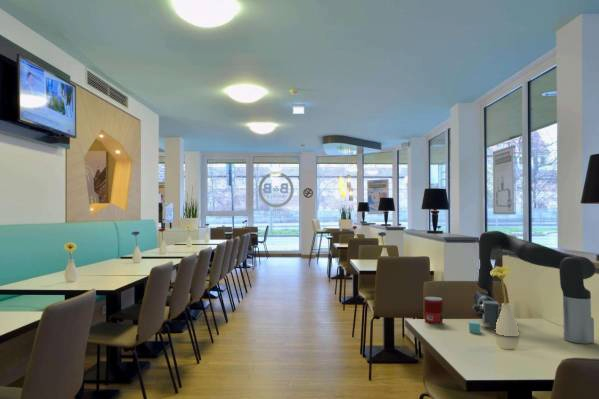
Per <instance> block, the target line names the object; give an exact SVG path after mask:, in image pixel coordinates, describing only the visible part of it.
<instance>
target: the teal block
mask: <svg viewBox="0 0 599 399" xmlns="http://www.w3.org/2000/svg"><path fill="white" fill-rule="evenodd" d="M468 331H469V333H470V334H471V333H472V334H473V333H474V334H481V323H480V321H474V320H469V321H468Z"/></svg>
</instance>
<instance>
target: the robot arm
mask: <svg viewBox="0 0 599 399" xmlns="http://www.w3.org/2000/svg"><path fill="white" fill-rule="evenodd" d="M478 241H479V244H478V246H479V272H478V277H477V278H478V279H477V286H478V287H479V288H480V289H481V290H485V291H483V292H481V290H475V291H476V292H475V296H474V300H475V304H474V303H472V311H474V312H475V313H480V314H482V315H483V314H484V309H483V300H485V301H495V295H494V291H493V290H494V288H493V287H494V280H495V276H494V277H492V276H491V275H490V271H491V270H492V269H494V266H493V265H492V260H491V256H492V252H493V251H495V250H504V251H508V252H511V253H513V254H514V255H515V256H516V257H517V258H518V259H520V260H521V261H523V262H527V263H529V264H532V265H535V266H541V267H546V268H553V269H558V270H559V284H560V289H561V291H562V308H563V309H562V310H563V311H562V313H563V314H562V315H563V339H564V340H565V341H567V342H571V343H575V344H585V345H586V344H592V343H593V344H594V343H595V321H594V320H595V319H594V317H592V301H591V299H592V294H591V291H590V290H589V289H587V288H586V287H585V285H584V283H585V282H584V280H588V279H589V278H591V277H593V276H594V275H595V274H596V270H597V269H596V266H595V264H594V263H593V261H592V260H590V259H589V258H588V257H585V256H582V255H581V256H580V255H576V254H569V253H565V252H563V251H559V250H556V249H555V248H551V247H548V246H545V245H542V244H540V243H536V242H534V241H530V240H525V239H522V238H519V237H518V238H517V237H514V236H511V234H510V235H509V234H507V233H506V232H503V231H501V230H490V231H484V232H482V233H481V234H480V236H479V240H478ZM500 311H501V306H499V314H500Z"/></svg>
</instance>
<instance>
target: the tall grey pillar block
mask: <svg viewBox="0 0 599 399" xmlns="http://www.w3.org/2000/svg"><path fill="white" fill-rule="evenodd" d="M499 307H500V303H499V302H498V301H496V300H494V301H485V300H483V309H484V314H482V324H483V326H484V327H486V324H491V325H497V324H496V322H497V319H498V317H499V318H500V315H499Z"/></svg>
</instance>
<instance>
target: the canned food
mask: <svg viewBox="0 0 599 399" xmlns="http://www.w3.org/2000/svg"><path fill="white" fill-rule="evenodd" d="M423 301H424V322H425V323H427V322H428V323H427V324H431V323H441V324H443V316H444V314H443V311H444V310H443V309H444V308H443V302H444V301H443V298H442V297H437V296H425V297H424V300H423Z"/></svg>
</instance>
